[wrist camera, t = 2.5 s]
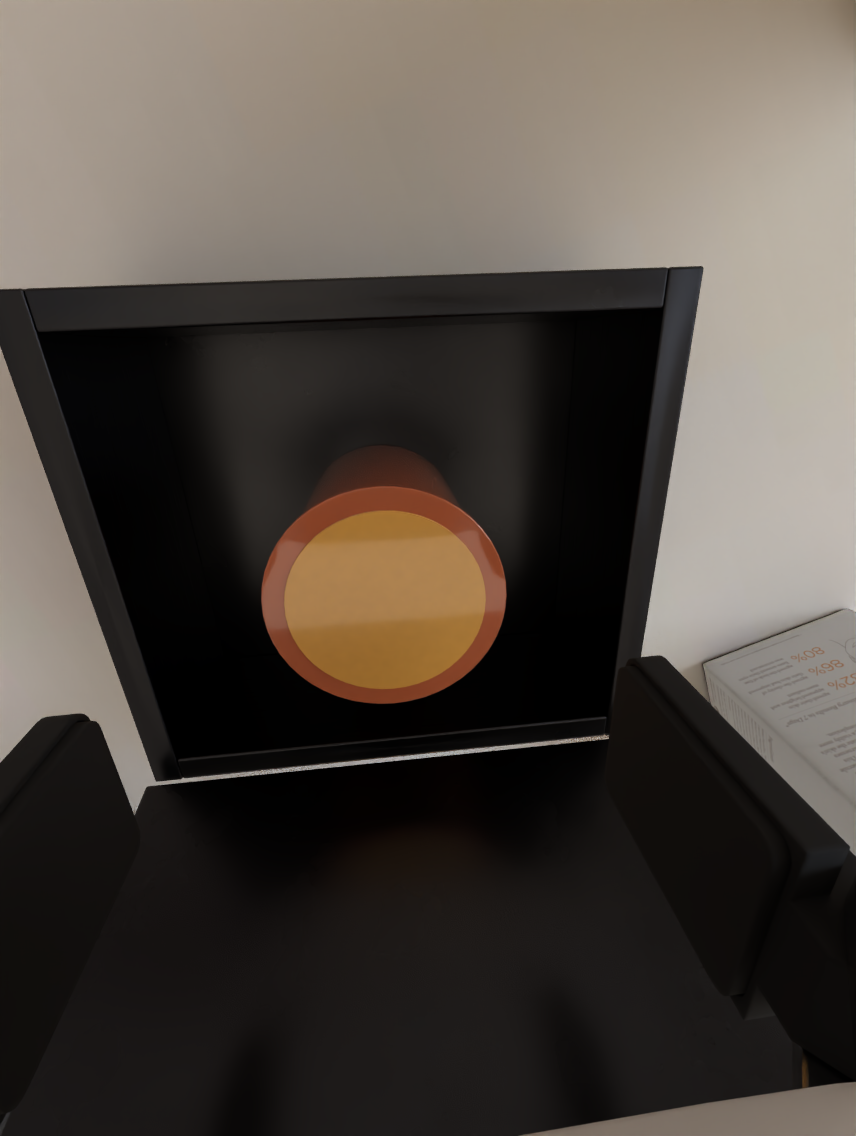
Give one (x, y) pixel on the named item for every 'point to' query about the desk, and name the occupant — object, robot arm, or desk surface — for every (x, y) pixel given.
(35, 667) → the desk surface
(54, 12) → the desk surface
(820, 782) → the small box
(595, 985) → the black box lid
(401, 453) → the ramekin
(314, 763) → the black open box
